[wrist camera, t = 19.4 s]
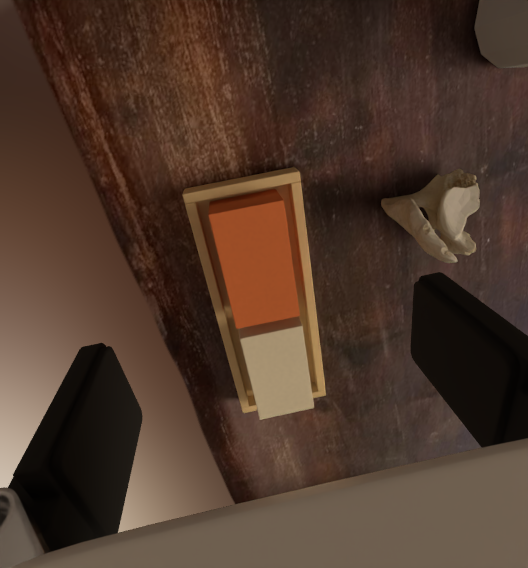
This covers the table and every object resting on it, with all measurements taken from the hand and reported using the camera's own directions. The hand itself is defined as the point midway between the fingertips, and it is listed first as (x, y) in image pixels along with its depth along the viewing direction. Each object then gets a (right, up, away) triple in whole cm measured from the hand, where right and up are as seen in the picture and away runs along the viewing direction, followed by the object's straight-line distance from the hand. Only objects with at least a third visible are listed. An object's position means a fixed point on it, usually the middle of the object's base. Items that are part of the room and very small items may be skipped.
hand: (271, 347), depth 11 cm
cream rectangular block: (+1, -5, +25) cm, 25 cm away
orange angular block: (-1, +5, +20) cm, 20 cm away
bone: (+14, +9, +21) cm, 27 cm away
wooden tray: (0, 0, +23) cm, 23 cm away
